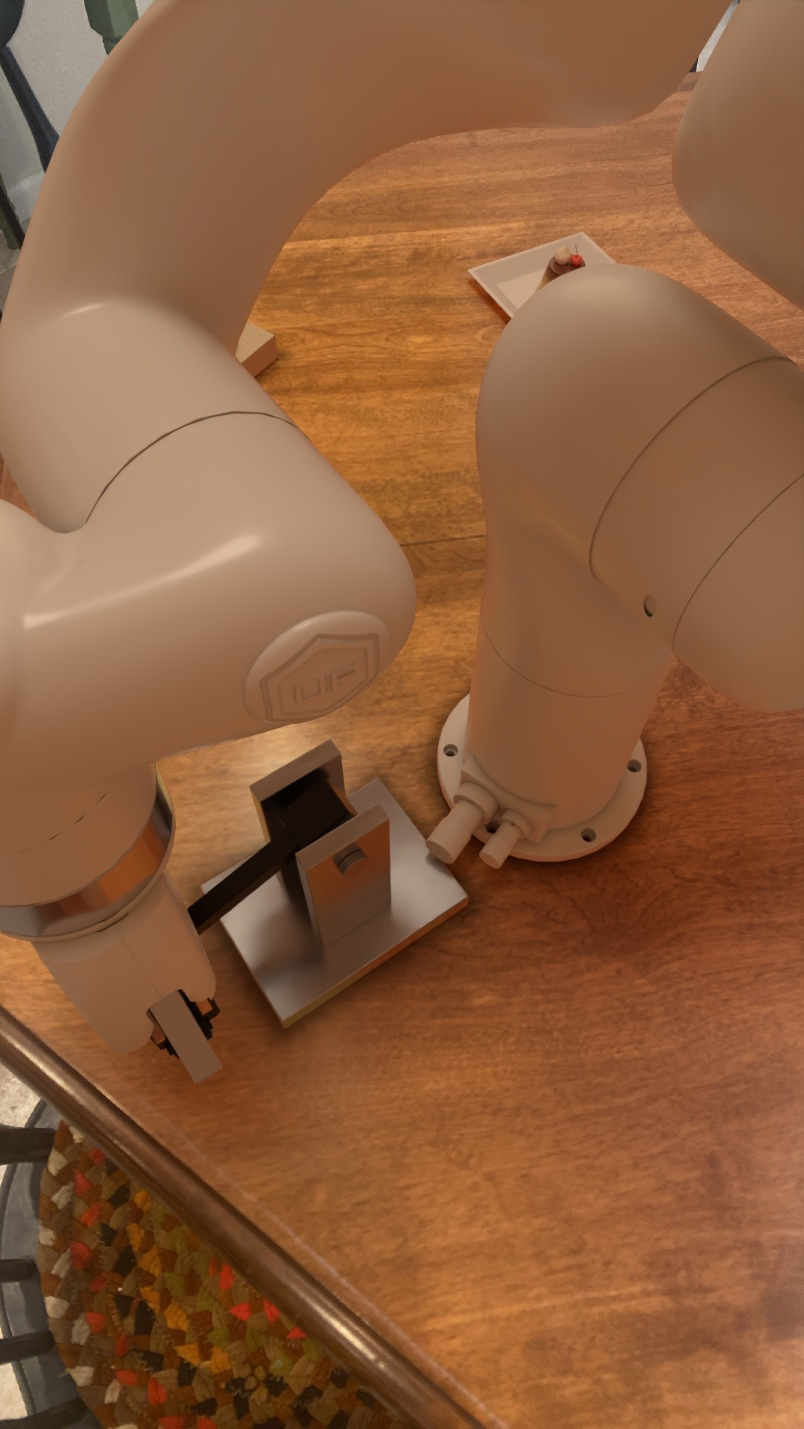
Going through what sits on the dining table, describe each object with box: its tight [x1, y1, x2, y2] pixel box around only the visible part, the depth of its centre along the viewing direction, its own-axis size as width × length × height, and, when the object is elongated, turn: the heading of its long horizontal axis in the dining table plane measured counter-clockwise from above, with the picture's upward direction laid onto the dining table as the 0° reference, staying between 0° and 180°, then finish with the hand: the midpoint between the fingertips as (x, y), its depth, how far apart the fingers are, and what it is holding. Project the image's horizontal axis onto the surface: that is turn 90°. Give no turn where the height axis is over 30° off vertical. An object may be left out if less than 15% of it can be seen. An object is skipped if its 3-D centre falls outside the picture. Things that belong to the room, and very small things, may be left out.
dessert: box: [467, 230, 618, 318], centre depth 79 cm, size 12×12×5 cm
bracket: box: [198, 738, 470, 1029], centre depth 48 cm, size 12×9×13 cm
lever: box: [186, 777, 358, 937], centre depth 44 cm, size 12×5×2 cm, turn 124°
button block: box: [234, 321, 279, 378], centre depth 75 cm, size 10×8×4 cm
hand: (160, 976), depth 47 cm, fingers closed on lever, 5 cm apart
